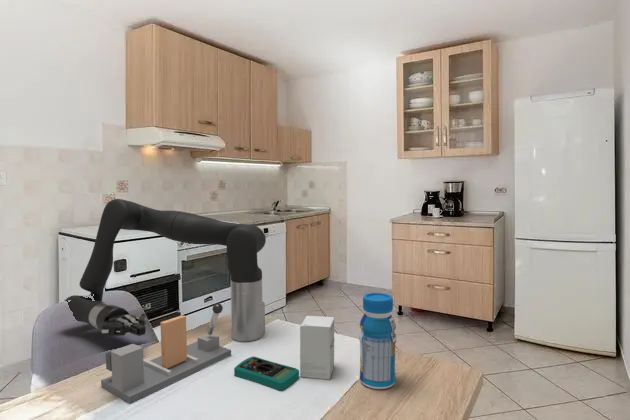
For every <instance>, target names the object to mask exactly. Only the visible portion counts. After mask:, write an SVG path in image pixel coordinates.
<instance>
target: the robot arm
mask: <svg viewBox="0 0 630 420" xmlns="http://www.w3.org/2000/svg"><path fill="white" fill-rule="evenodd" d="M121 230H124V231H125V230H126V231H141V232H150V233H154V234H157V235H159V236H161V237H163V238H166V239H168V240H171V241H175V242H180V243H185V244H190V245H218V246H225V247H226V259H227V270H228V272H229V275H230V306H231V307H230V311H231V313H230V314H231V319H230V321H231V338H232V339H233V341H234V340H235V341H238V342H252V341H257V340H259V339H261V338H262V337H264V336H263V335H264V334H265V333H266V306H265V305H266V302H264V301H263V271H262V269H261V268H260V267H259V265H258V264H259V262H258V253H259V252H261V250H262V249H263V248H264V247H265V244H266V242H267V239H266V235H265V233H264V231H263V230H262V229H261V228H260V227H259V226H257V225H254V224H251V223H250V224H249V223H235V222H234V223H233V222H227V221H221V220H218V219H214V218H212V217H208V216H202V215H199V214H195V213H191V212H185V211H180V210H179V211H178V210H160V209H154V208H152V207H148V206H145V205H142V204H141V203H140V204H139V203H137V202H133V201H131V200H126V199H121V198H114V199H111V200H110V201H108V203H107V204H106V205H105V206H104V208H103V211H102V214H101V217H100V221H99V225H98V229H97V232H96V233H97V234H96V235H95V236H96V237H95V241H94V245H93V248H92V251H91V255H90V258H89V260H88V262H87V265H86V266H85V269H84V272H83V273H82V276H81V279H80V280H79V287H80V288H81V289H82V290H85V291H86V292H89V293H90V294H89V296H90V295H91V296H93V294H94V296H93V298H94V300H95V301H92V299H91V298H89V297H88V298H85V297H83V296H84V295H70V296H68V297H67V298H65V299H64V301H67V302H68V300H71V301H70V302H68V305H69V308H70V310H71V311H72V312H73V316H74V317H75V319H76V320H77V322H81V323H85V324H88V325H89V326H92V327H94V328H95V329H97V330H99V331H101V336H102V337H108V336H109V337H113V336H117V337H118V336H119V337H120V336H121V337H122V336H125V335H126V334H128V335H135V336H138V337H140V336H144V335H145V334H146V331H147V329H146V324H147V318H146V317H147V315H146V313H142V314H140V315H139V316H136V315H134V314H130V312H129V311H127V309H125V308H123V307H121V306H118V305H114V304H111V303H108V302H107V303H106V302H103V296H104V292H105V291H104V290H105V286H106V284H107V281H108V279H109V277H110V275H111V273H112V269H113V265H114V245H115V241H116V238H117V236H118V234H119V232H120V231H121ZM85 296H86V295H85ZM86 297H87V296H86Z"/></svg>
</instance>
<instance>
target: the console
mask: <svg viewBox="0 0 630 420" xmlns="http://www.w3.org/2000/svg"><path fill="white" fill-rule="evenodd" d="M110 352H111V366H112V371H111V376H108V377H106V378H103V379H101V380H100V386H101V388H102V389H104V390H106V391H108V392H110V393H111V394H113V395H114V396H116V397H118V398H120V399H121V400H122V401H125V402H127V404H129V405H130V404H132V403H135V402H137V401H139V400H141V399H143V398H145V397H147V396H149V395H151V394H154V393H156V392H159V390H160V391H161V390H162V389H164V388H166V387H168V386H170V385H173V384H174V383H176V382H178V381H180V380H183V379H185V378H187V377H189V376H191V375H194V374H195V373H197V372H199V371H201V370H202V371H203V370H204V369H206V368H208V367H210V366H212V365H213V364H214V365H215V364H216V363H218V362H220V361H223V360H225V359H227V358H229V357H230V356H232V350H231V349H230V348H226V347H224V346H221V345H220V336H219V335H217V334H214V333H213V334H212V335H208V334H207V333H206V334H203V335H201V336H198V337H197V341H196V342H193V343H190V344H187V360H185V361H183V362H181V363H178V364H176V365H174V366H171V367H169V368H167V369H166V368H164V367H162V355H160V356H158V357H156V358H152V359H150V360H148V359H146V358H144V349H143V347H142V346H140V345H138V344H135V343H131V344H127V345H125V346H122V347H119V348H117V349H114V350H111V351H110Z"/></svg>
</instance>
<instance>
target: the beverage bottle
mask: <svg viewBox="0 0 630 420" xmlns="http://www.w3.org/2000/svg"><path fill="white" fill-rule="evenodd" d="M362 309H363V311H364V313H363V315H362V317H361V319H360V322H359V328H360V331H359V334H358V335H359V336H358V339H359V361H360V362H359V381H360V382H361V384H362V385H364V386H365V387H368V388H370V389H374V390H386V389H389V388H391V387H392V386H394V385H395V384H396V343H397V334H396V329H397V326H396V325H397V324H396V321H395V319H394V317H393V316H392V314H391V313H393V310H394V299H393V296H392V295H391V294H388V293H383V292H369V293H365V294H363V298H362Z"/></svg>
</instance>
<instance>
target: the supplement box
mask: <svg viewBox="0 0 630 420" xmlns="http://www.w3.org/2000/svg"><path fill="white" fill-rule="evenodd" d="M299 327H300V328H299V333H300V334H299V342H300V343H299V344H300V345H299V350H300V351H299V352H300V353H299V366H300V367H299V378H310V379H319V380H330V379H331V376H332V372H333V370H334V367H335V317H334V316H322V315H321V316H318V315H316V316H315V315H306V316H305V318H304V320H303V321H302V323H301V324H300V325H299Z"/></svg>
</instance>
